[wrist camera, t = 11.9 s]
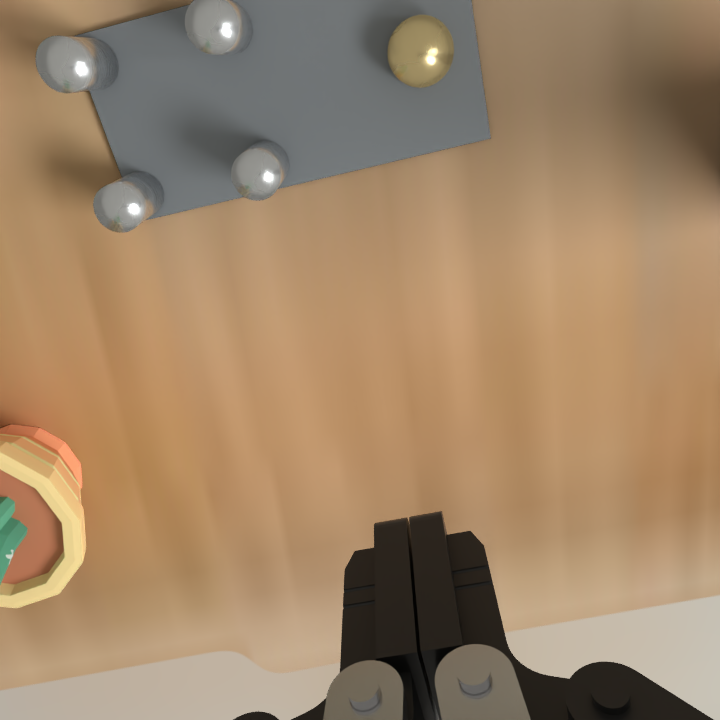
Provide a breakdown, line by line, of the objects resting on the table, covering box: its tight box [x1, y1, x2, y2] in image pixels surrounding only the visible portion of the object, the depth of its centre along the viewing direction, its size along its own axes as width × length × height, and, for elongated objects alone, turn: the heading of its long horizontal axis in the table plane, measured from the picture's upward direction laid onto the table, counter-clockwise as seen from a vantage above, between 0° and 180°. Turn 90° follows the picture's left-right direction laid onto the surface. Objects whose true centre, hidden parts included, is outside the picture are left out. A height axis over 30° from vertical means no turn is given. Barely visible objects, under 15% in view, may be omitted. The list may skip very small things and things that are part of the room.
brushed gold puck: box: [387, 15, 454, 88], centre depth 41 cm, size 4×4×2 cm
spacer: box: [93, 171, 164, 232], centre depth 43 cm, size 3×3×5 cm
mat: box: [72, 0, 491, 220], centre depth 43 cm, size 25×12×1 cm, turn 103°
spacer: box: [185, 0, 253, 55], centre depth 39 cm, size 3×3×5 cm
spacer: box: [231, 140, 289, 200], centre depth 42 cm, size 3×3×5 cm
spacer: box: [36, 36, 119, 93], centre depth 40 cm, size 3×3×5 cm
